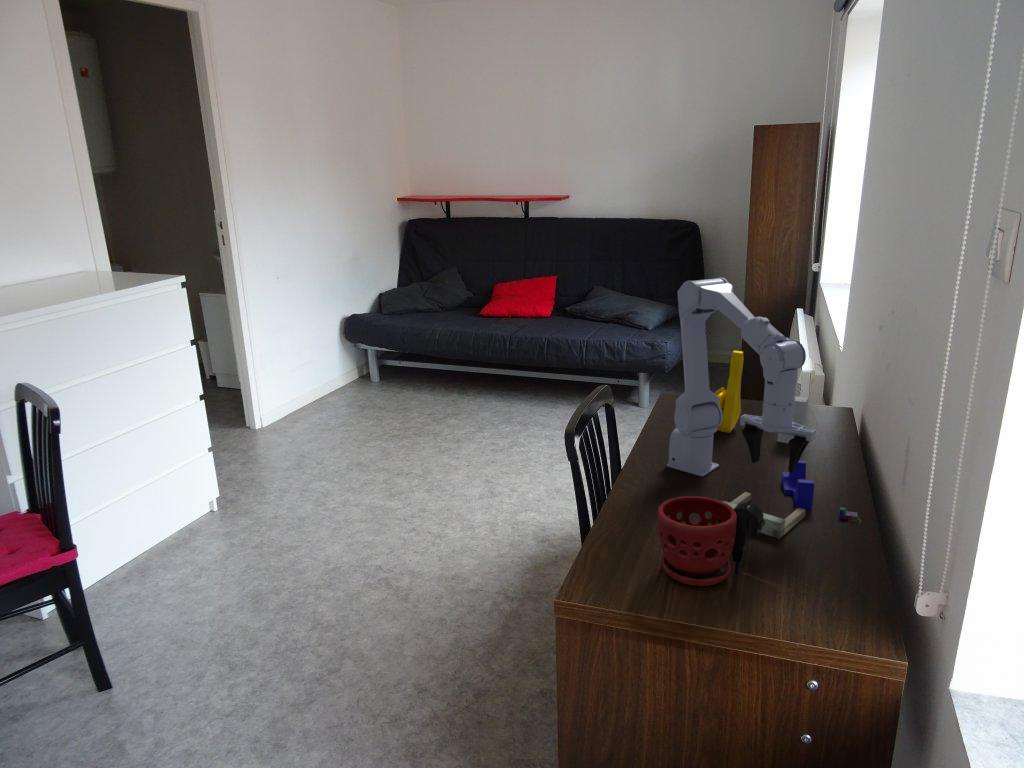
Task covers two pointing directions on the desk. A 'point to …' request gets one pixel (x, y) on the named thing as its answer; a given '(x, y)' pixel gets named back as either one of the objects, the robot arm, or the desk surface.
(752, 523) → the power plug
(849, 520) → the multicolored checkered block
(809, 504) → the cable clip
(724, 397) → the figure statuette
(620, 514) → the desk surface
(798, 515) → the channel
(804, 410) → the skincare box
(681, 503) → the plant pot
